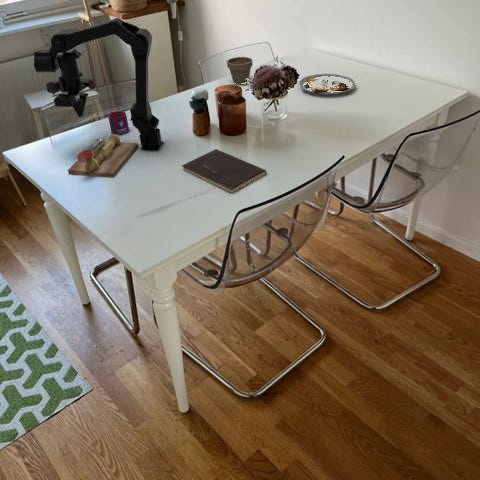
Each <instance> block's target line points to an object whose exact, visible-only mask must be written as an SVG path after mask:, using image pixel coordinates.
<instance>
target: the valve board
mask: <svg viewBox="0 0 480 480" xmlns="http://www.w3.org/2000/svg"><path fill="white" fill-rule="evenodd" d="M104 141H105V144H103V145H102V146H101V147H100V148H99V149H98V150H97V151H96V152H95V153H93V154H92V158H91V159H89V160H88V161H87V162H78V159H77V160H76V161H75V162H74V163H73V164H72V166H71V167H69V168H68V169H67V173H68V175H74V176H87V177H88V176H89V177H90V176H91V177H105V178H115V176H117V174H118V173H119V172H120V170H121V169H122V168H123V166H124V165H126V164H127V162H128V161H129V159H130V158H131V157H132V155H133V154H134V153H135V152H136V151H137V149H138V148H139V144H138V142H124V141H123V142H121V137H120V135H116V134H112V133H111V134H110V135H108V137H107V140H104Z"/></svg>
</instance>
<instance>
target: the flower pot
mask: <svg viewBox="0 0 480 480" xmlns="http://www.w3.org/2000/svg"><path fill="white" fill-rule="evenodd" d="M253 65H254V64H253V59H252V57H248V56H247V57H246V56H236V57H232V58H230V59H227V60H226V66H227V68H228V69H229V71H230V76H231V80H232V82H233V84H234V83H236V84H241V83H245V82H247V80H245V78H249V79H250V74H251V68H252V66H253ZM236 84H235V85H236Z"/></svg>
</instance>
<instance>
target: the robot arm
mask: <svg viewBox="0 0 480 480" xmlns="http://www.w3.org/2000/svg"><path fill="white" fill-rule="evenodd" d="M111 35H112V36H113V35H115V36H117V37H118V38H119V39H120V40H121V41H122V42H124V43H125V44H127V45H129V46H130V50H131V54H132V57H133V59H134V67H135V69H134V72H135V79H134V80H135V102H133V104H132V105H131V107H130V119H129V120H130V122H131V123H132V126H133V127H134V128H135V129H137V131H138V132H139V141H140V145H141V147H140V150H141V151H156V152H157V151H159V150H160V148H161V147H162V146H163V144H164V143H165V142H164V141H162V137H161V136H162V135H161V129H160V128H158V126H159V124H160V119H159V118H158V117H156V116H155V115H154V114H153V113H152V106H151V105H150V102H149V57H150V52H151V48H152V43H153V35H152V33H151V32H150V31H149V30H148V29H146V28H140V27H139V26H136V25H135V24H131V23H129V22H126V21H125V20H123V19H122V18H119V17H115V18H112V19H111V20H106V21H104V22H99V23H96V24H92V25H89V26H85V27H82V28H65V29H64V28H62V29H60V30H58V31H57V32H56V33H55V34H54V35H52V37H51V38H50V45H51V46H50V49H49V50H35V51H34V52H33V55H34V58H33V67H34V69H35V72H36V73H37V74H43V73H44V74H45V73H49V74H50V73H56V72H57V71H58V70H59V71H60V76H59V77H58V79H55V80H54V81H50V82H47V83H46V85H45V88H46V92H48V93H49V94H51V95H56V93H59V94H58V95H57V96H55V98H53V100H52V101H53V105H54V106H55V107H63V108H71V107H72V109H73V110H74V112H75V113H76V115H77V116H78V117H79V118H82V117H83V116H84V111H85V108H86V104H87V99H88V97H89V93H85V91H84V90H85V89H86V88H89V89H90V91H92V90H93V89H94V88H96V84H95V81H94V80H93V79H91V78H81V77H82V76H83V72H80V71H79V65H78V61H77V59H80V58H81V56H82V52H80V51H78V50H77V49H76V47H78V46H79V45H81V44H83V43H88V42H91V41H94V40H98V39H101V38H105V37H109V36H111ZM71 50H72V51H71Z"/></svg>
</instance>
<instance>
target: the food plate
mask: <svg viewBox="0 0 480 480" xmlns="http://www.w3.org/2000/svg"><path fill="white" fill-rule="evenodd" d="M321 76H328V77H330V76H335V77H341V78H344V79H348V80H349V82H350V81H351V82H352V83H353V84H352V85H353V86H352V87H351V88H347V87H348V86H346V84H344V83H340V82H338V84H339V85H338V84H337V86H338V87H339V88H337V86H334V87H336V88H333V87H332V88H331V87H330V89H325V87H322V88H323V89H322V88H319V87H315V88H314V87H309V85H308V83H309V84H310V83H311V82H310V81H312V82H314V81H316V80H318V79H314V78H316V77H321ZM305 82H308V83H307V84H306V85H304V86H303V84H304V83H305ZM327 82H328V80H327ZM333 84H335V81H334V82H332V85H333ZM299 85H300V89H301V90H302V91H304V92H308V93H310V94H317V95H338V94H339V95H340V94H343V93H349V92H351V91H353V90H354V89H356V88H357V87H356V86H357V85H356V83H355V81H354V80H353V78H352V77H349V76H345V75H341V74H336V73H321V74H319V73H317V74H313V75H308V76H307V75H306V76H305V77H302V78H301V79H300V80H299ZM310 85H311V84H310ZM317 85H318V84H317ZM320 85H322V84H320ZM311 86H312V85H311ZM308 88H311V90H312V91H310V90H307V89H308ZM328 90H332V91H341V92H333V93H331V92H327V91H328Z"/></svg>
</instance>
